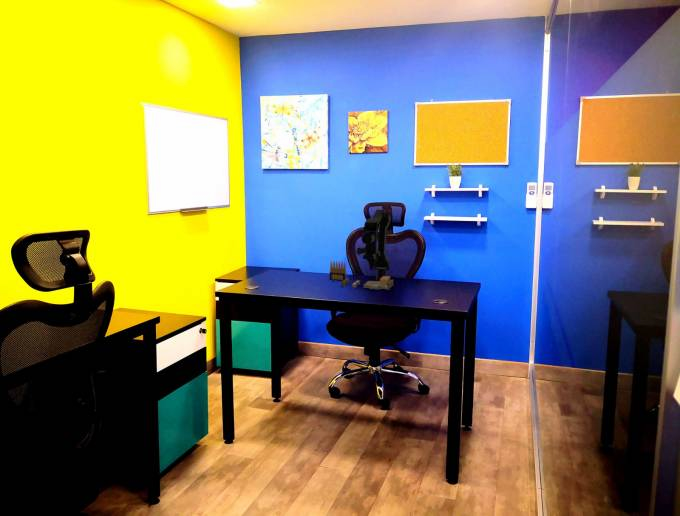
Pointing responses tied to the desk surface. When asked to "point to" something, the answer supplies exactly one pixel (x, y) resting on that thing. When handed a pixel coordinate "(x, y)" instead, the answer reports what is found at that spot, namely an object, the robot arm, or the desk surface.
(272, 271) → the desk surface
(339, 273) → the ammunition clip
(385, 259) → the robot arm
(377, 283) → the trap board
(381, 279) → the block
